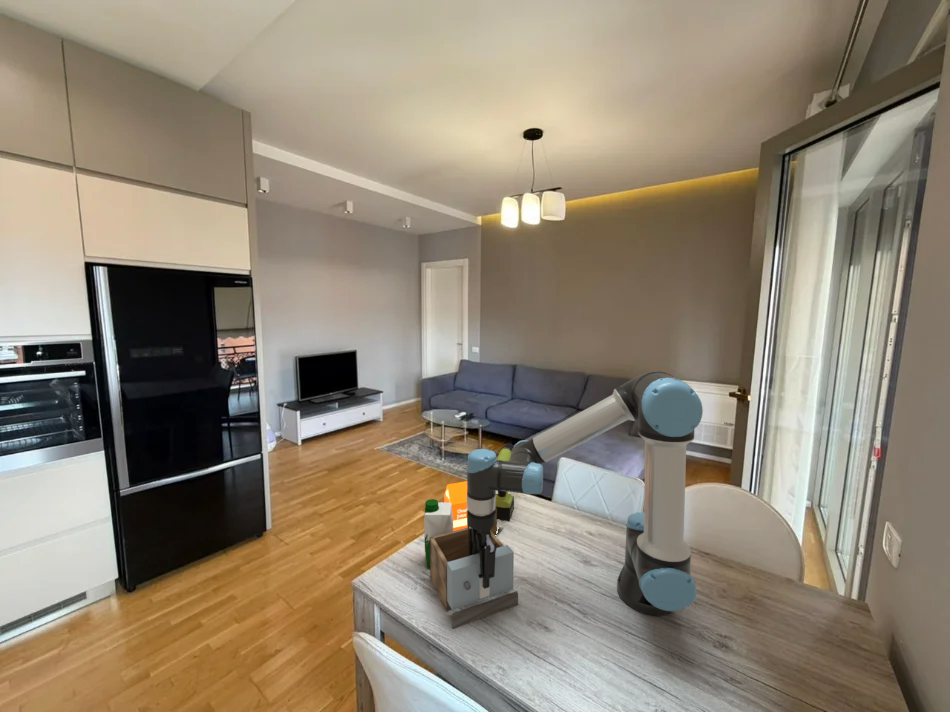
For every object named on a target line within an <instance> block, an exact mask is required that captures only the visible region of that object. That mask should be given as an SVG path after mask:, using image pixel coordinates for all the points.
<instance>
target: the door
mask: <svg viewBox="0 0 950 712" xmlns="http://www.w3.org/2000/svg"><path fill="white" fill-rule="evenodd" d="M514 554H515V552H514V551H513V550H512V548H511V547H510V546H509V545H508V544H507V545H504V546H502V547H499V548H497V549H496V553H495V576H494V577H492V578H490V596H488V597H485V598H482V599H480V598H479V576H478V575H479V574H481V567H480V553H478V554H474V555H471V556H467V557H464V558H461V559H457V560H454V561H450V562H447V601H448V603H449V605H450V607H451V609H450V610H451V611H454V610H457V609H460V608H463V607H465V606H468V605H471V604H475V603H478V602H480V601H483V600H485V599H488V598H492V597H494V596H498V595H500V594H503V593H507V592H510V591H512V590H514V567H515V566H514V562H515V561H514V560H515V559H514V558H515V556H514Z"/></svg>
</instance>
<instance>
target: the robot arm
mask: <svg viewBox="0 0 950 712" xmlns="http://www.w3.org/2000/svg"><path fill="white" fill-rule="evenodd" d="M703 410H704V409H703V404H702V401H701V399H700V396H699V395H698V394H697V392H696V391H695V390H694V389H693V388H692V386H691V385H690V384H688V383H686V382H685V381H683V380H681V379H678V378H676V377H674V376H673V375H671V374H670V373H667V372H665V371H660V370H651V371H647V372H645V373H642V374H639V375H638V376H635V377H634V378H632V379H630V380H628V381H626V382H624V383H623V384H622V385H619V386H618V387H615V388H614V389H613V392H612V394H611V395H609V396H608V397H605V398H604V399H602V400H600V401H598V402H596V403H595V404H593V405H591V406H589V407H587V408H586V409H584V410H582V411H580V412H579V413H576V414H574V415H573V416H571V417H569V418H567V419H566V420H564V421H561V422H560V423H558V424H556V425H554V426H552V427H550V428H548V429H547V430H545V431H544V432H541V433H540V434H537V435H536V436H534V437H532V438H530V439H528V440H527V439H524V440H523V439H522V440H519V441H518V442H517V443H515V444H514V445H513V446H514V448H513V449H512V452H511V457H510V461H502V460H497V458H498V457H497V453H495V451H493V450H492V449H491V450H490V449H486V448H478V449H474V450H472V451H470V452H469V454H467V464H466V465H467V466H466V467H467V468H466V481H467V509H468V510H467V526H468V545H469V556H471V555H474V554H478V553H480V567H481V574H479V575H478V576H479V598H480V599H482V598H485V597H488V596H490V578H492V577H494V576H495V553H496V549H497V545H496V543H494V544H493V543H492V541H491V531H490V530H491V529H492V527H493V526H494V525H495V522H496V511H495V507H496V496H497V495H496V494H497V492H498V491H506V492H508V493H516V494H522V495H523V494H524V495H540V494H542V492H543V486H544V485H543V482H544V467H543V465H544V464H545V463H547V462H549V461H551V460H553V459H555V458H557V457H559V456H561V455H563V454H564V453H566V452H568V451H571V450H573V449H574V448H576V447H578V446H580V445H582V444H584V443H586V442H589V441H590V440H592V439H594V438H596V437H597V436H600V435H601V434H603V433H605V432H607V431H609V430H611V429H613V428H615V427H617V426H619V425H620V424H622V423H624V422H626V421H633V422H636V421H637V420H638V422H637V423H638V424H637V426H638V427H637V428H638V435H639V436H640V437H641V439H643V441H644V486H643V487H644V488H643V490H644V495H643V496H644V499H643V501H644V502H643V507H644V508H643V512H642V511H641V512H640V511H639V512H634V513H631V514H629V515H628V517H627V519H626V524H625V527H626V529H625V530H626V531H625V533H626V534H625V553H624V554H625V555H624V563H623V567H622V568H621V571H620V572H619V575H618V576H617V582H616V591H617V594H618V596H619V597H620V599H621V600H622V601H623V602H624V603H625V604H626V605H627V606H628V607H630V608H632V609H634V610H635V611H637V612H640V613H642V614H645V615H649V616H655V617H656V616H657V617H658V616H659V617H660V616H666V615H670V614H671V613H672V612H677V611H682V610H685V608H687V607H690V606H691V605H692V604H693V603H694V602H695V600H696V598H697V593H698V590H697V589H698V588H697V586H696V581H695V579H694V578H693V576H692V573H691V564H692V563H691V560H692V559H691V558H692V557H691V556H692V554H691V553H692V551H691V548H690V546H689V544H688V543H687V542H686V541H685V540H684V539H685V509H686V508H685V505H686V504H685V503H686V502H685V501H686V470H687V468H686V467H687V465H686V464H687V463H686V462H687V445H689V444H690V443H691V442H693V441H694V440H695V429H696V428H697V427H698V426H699V425H700V423H701V421H702V417H703V412H704V411H703Z"/></svg>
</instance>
